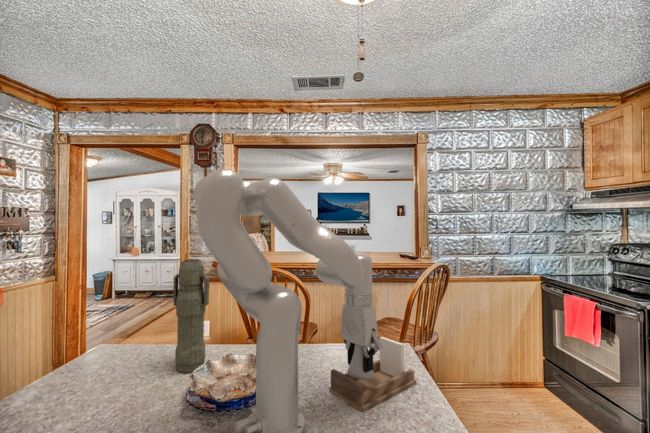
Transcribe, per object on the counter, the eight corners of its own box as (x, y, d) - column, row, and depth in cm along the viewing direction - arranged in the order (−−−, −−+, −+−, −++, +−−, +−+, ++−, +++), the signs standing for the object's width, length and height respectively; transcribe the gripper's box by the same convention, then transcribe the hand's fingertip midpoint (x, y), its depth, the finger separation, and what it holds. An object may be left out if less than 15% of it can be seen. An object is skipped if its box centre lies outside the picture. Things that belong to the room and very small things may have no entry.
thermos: (203, 374, 97) (204, 261, 99) (165, 374, 97) (167, 261, 99) (213, 362, 106) (214, 258, 107) (179, 362, 106) (180, 258, 108)
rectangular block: (401, 380, 89) (401, 345, 90) (379, 370, 96) (379, 337, 96) (404, 379, 90) (403, 344, 91) (382, 369, 96) (381, 336, 97)
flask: (373, 381, 81) (372, 342, 81) (345, 379, 82) (344, 340, 82) (374, 369, 88) (373, 333, 88) (349, 367, 89) (348, 331, 89)
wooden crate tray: (363, 412, 76) (363, 387, 76) (329, 391, 86) (328, 369, 86) (416, 383, 90) (416, 362, 90) (381, 368, 100) (381, 349, 100)
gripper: (328, 297, 90) (329, 361, 89) (373, 308, 77) (374, 383, 76) (347, 293, 95) (348, 354, 94) (392, 303, 81) (394, 373, 81)
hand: (360, 366), depth 85 cm, fingers closed on flask, 5 cm apart
